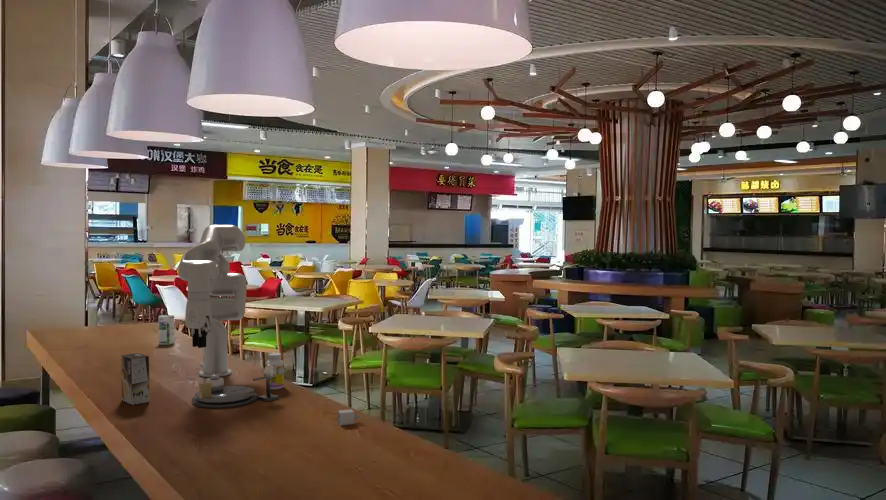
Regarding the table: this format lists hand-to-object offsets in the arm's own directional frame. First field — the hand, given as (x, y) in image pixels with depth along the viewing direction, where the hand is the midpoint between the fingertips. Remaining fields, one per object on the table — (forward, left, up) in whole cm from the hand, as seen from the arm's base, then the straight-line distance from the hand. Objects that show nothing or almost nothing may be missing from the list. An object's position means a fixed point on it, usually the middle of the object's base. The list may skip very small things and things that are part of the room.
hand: (199, 346), depth 249 cm
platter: (+15, 0, -16) cm, 22 cm away
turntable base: (+15, 0, -17) cm, 23 cm away
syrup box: (-100, +48, -17) cm, 112 cm away
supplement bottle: (+15, +22, -17) cm, 32 cm away
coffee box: (-8, -20, -17) cm, 28 cm away
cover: (+9, 0, -15) cm, 17 cm away
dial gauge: (+26, +8, -17) cm, 32 cm away
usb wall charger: (+69, +7, -17) cm, 71 cm away
